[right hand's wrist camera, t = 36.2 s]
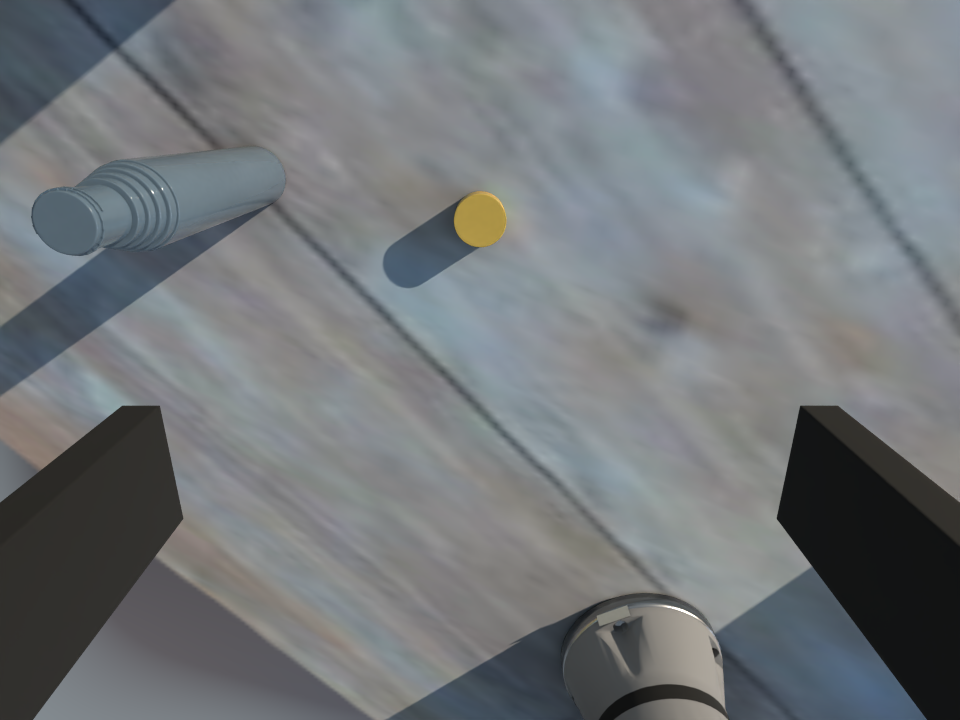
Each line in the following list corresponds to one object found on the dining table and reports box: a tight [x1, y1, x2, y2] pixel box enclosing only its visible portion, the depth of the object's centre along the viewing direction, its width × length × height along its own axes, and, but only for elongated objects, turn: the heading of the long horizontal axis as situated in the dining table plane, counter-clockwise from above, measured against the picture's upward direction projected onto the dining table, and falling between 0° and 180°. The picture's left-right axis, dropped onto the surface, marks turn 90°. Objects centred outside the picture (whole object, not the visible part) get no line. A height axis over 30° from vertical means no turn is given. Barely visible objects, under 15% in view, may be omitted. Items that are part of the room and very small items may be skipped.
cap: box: [454, 191, 506, 247], centre depth 45 cm, size 4×4×2 cm
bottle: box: [31, 146, 286, 256], centre depth 34 cm, size 4×4×22 cm
